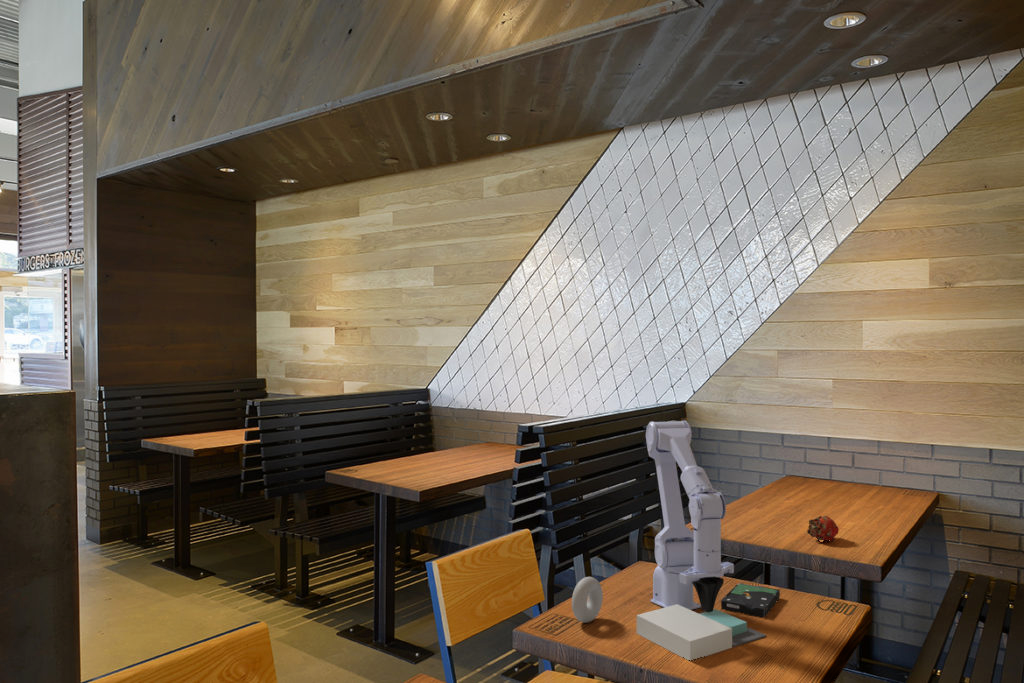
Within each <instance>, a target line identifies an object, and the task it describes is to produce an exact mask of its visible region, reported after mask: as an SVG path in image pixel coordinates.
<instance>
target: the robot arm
mask: <svg viewBox="0 0 1024 683" xmlns="http://www.w3.org/2000/svg"><path fill="white" fill-rule="evenodd" d="M645 439H646V440H645V441H646V447H647V452H648V457H650V458H651V459H653V460H654V462H655V468H656V470H655V471H656V476H657V483H658V484H657V485H658V489H659V495H660V496H659V497H660V502H661V510H662V511H661V512H662V518H663V525H664V527H663V528H662V529H661V530H660V531H659V532H658V533H657V534H656V536H655V537H654V558H655V562H656V563H657V566H656V568H655V569H654V571H653V576H652V599H651V598H650V603H652V604H653V603H654V604H655V605H658V606H660V607H662V608H665V607H669V606H672V605H676V604H678V605H680V606H682V607H685V608H687V609H689V610H691V611H693V610H696V609H699V608H701V610H702V611H703V612H708V613H709V612H712V611H713V610H714V608H715V604H716V601H717V597H718V595H719V592H720V590H721V589H722V587H723V585H724V578H722V577H724V574H728V573H729V574H734V572H735V565H734V563H731V562H729V561H724V562H722V557H721V556H722V554H721V553H722V552H721V551H722V550H721V549H722V548H721V544H722V540H721V538H722V536H721V534H722V529H721V528H722V526H721V524H722V523H721V522H722V520H723V519H724V518H725V516H726V513H727V505H726V504H727V503H726V500H725V498H724V495H723V493H721V491H718V489H716V488H713V485H712V483H711V482H710V479H709V477H708V475H707V472H706V471H705V469H704V468H703V467H701V466H698V464H697V460H696V459H695V456H694V453H693V450H692V448H691V442H692V428H691V425H690V423H688V421H687V420H681V421H680V420H679V421H649V423H648V424H647V426H646V432H645ZM677 465H678V467H679V468H680V470H681V474H680V481H681V483H682V486H683V488H684V491H685V492H686V495H687V497H688V499H689V501H688V511H689V515H690V523H691V526H692V527H693V530H692V529H690V528H689V527H687V525H686V523H685V517H684V515H685V514H684V509H683V508H684V507H683V502H682V497H681V490H680V482H679V477H678V469H677ZM694 589H695V592H696V593H697V596H698V600H699V603H698V602H696V601H694Z"/></svg>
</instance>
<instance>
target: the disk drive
mask: <svg viewBox="0 0 1024 683" xmlns="http://www.w3.org/2000/svg"><path fill="white" fill-rule="evenodd" d="M780 591H781V590H780V589H778V588H771V587H765V586H760V585H751V584H747V583H746V584H745V583H743V582H740V583H737V584H735V585H734V587H732V588H731V589H730V591H728V592H727V593H726V595H725V596H723V597H722V599H721V600H720V603H721V605H720V607H721V608H720V610H723V609H725V610H724V611H728V610H729V611H728V612H732V611H734V612H733V613H737V612H740V613H739V614H742V613H744V615H747V614H748V615H747V616H752V615H753V616H752V617H757V616H759V618H762V617H765V616H766V615H767V614H768V615H769V613H770V612H771V610H772V609H773V608H774V606H775V605H776V604H777V603H776V601H779V600H780V599H779V597H780V598H781V596H780V595H781V593H780ZM778 599H779V600H778ZM775 603H776V604H775ZM774 604H775V605H774ZM772 607H773V608H772ZM771 608H772V609H771ZM769 611H770V612H769ZM768 612H769V613H768ZM768 615H767V616H768ZM767 616H766V617H767ZM766 617H765V618H766Z"/></svg>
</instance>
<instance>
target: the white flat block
mask: <svg viewBox="0 0 1024 683" xmlns="http://www.w3.org/2000/svg"><path fill="white" fill-rule="evenodd" d="M636 634H637V635H639V636H641V637H642V638H644V639H647V640H649V641H650V642H652V643H654V644H656V645H658V646H660V647H662V648H664V649H666V650H668V651H669V652H671V653H673V654H675V655H677V656H679V657H680V658H683V657H684V658H685V659H684V658H683V659H684V660H686V659H687V660H686V661H688V660H690V661H689V662H692V661H691V660H693V659H696V660H698V659H697V658H699V659H701V658H700V657H702V658H704V656H705V657H708V656H711V655H714V654H717V653H720V652H722V651H723V652H724V651H726V650H730V649H732V648H733V646H732V628H730V627H728V626H725V625H723V624H721V623H719V622H716V621H714V620H712V619H710V618H707V617H705V616H703V615H700V613H698V612H696V611H693V610H689V609H687V608H685V607H682V606H680V605H678V604H676V605H672V606H669V607H665V608H664V607H662V608H657V609H654V610H651V611H647V612H642V613H640V614H637V615H636ZM693 661H694V660H693Z"/></svg>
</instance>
